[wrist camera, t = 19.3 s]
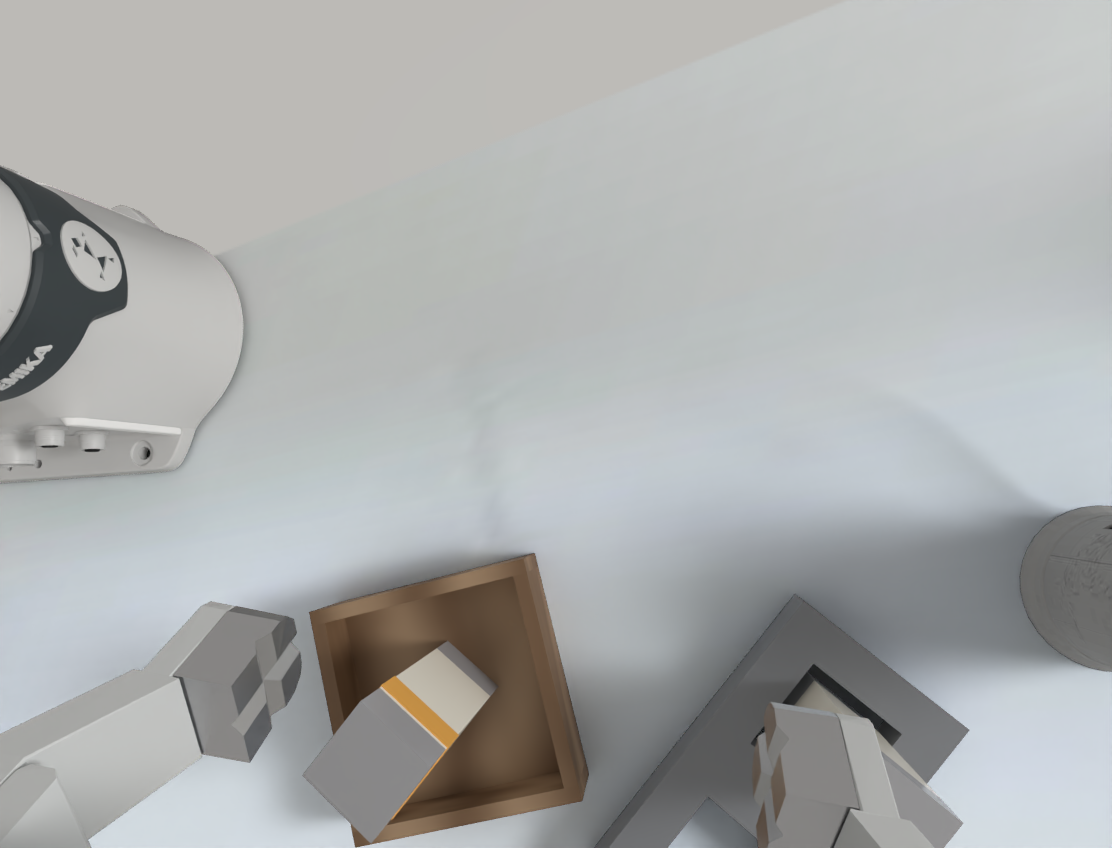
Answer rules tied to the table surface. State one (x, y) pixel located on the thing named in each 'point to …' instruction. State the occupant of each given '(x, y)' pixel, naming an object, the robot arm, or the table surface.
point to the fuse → (888, 769)
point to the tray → (505, 719)
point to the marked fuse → (398, 738)
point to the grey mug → (1072, 585)
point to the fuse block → (738, 716)
